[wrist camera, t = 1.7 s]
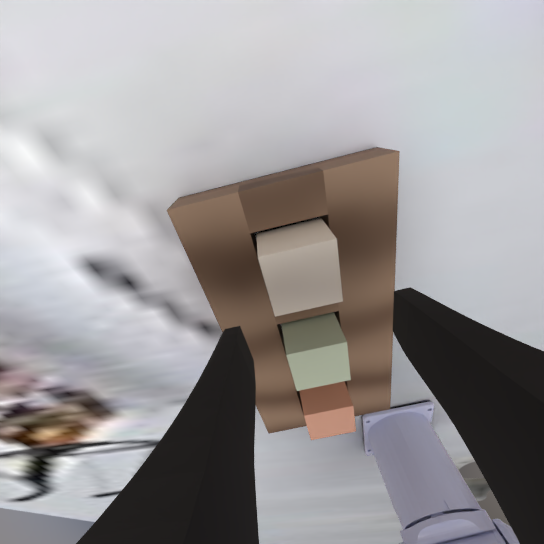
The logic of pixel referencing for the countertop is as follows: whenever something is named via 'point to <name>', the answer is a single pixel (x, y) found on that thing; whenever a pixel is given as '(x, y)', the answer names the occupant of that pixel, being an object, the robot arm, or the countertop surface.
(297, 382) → the sage button
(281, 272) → the cream button
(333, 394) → the terracotta button
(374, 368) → the button panel
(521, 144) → the countertop surface
